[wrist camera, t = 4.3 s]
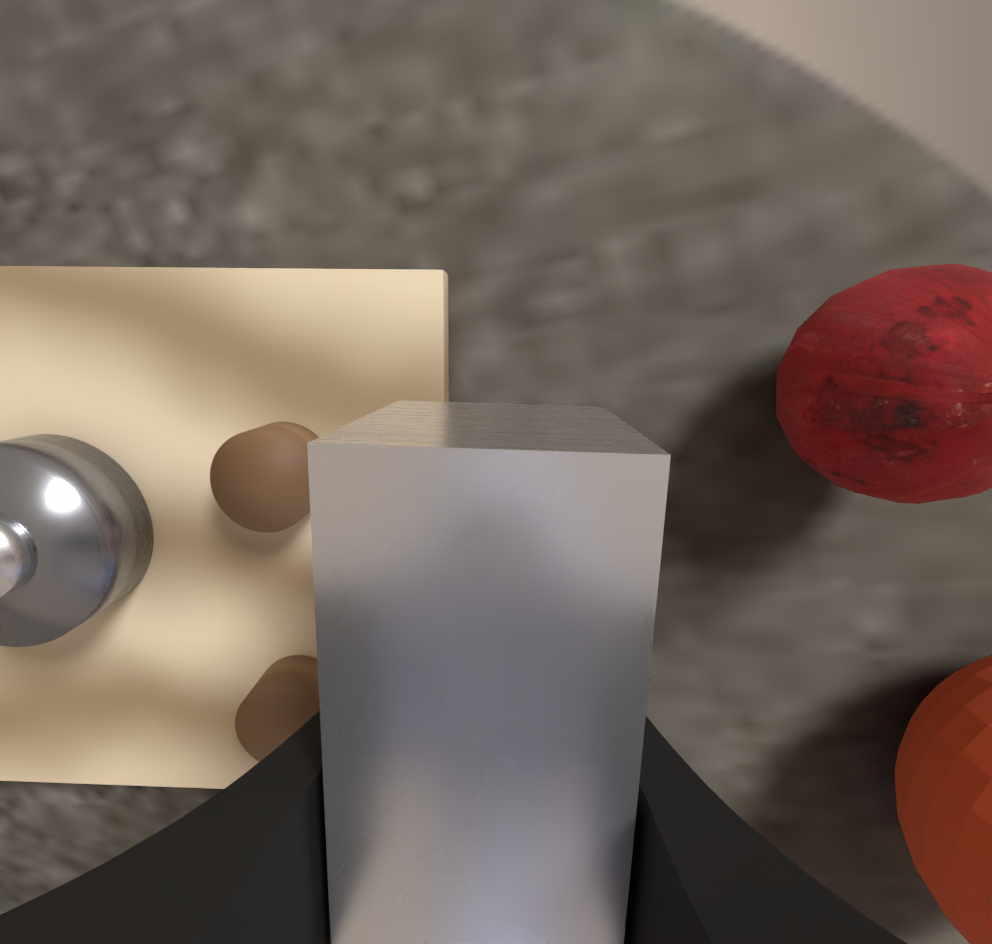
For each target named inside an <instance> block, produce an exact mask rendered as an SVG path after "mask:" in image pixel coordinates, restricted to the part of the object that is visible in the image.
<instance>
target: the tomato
mask: <svg viewBox="0 0 992 944" xmlns="http://www.w3.org/2000/svg"><path fill="white" fill-rule="evenodd" d="M895 787H896V802H897V816H898V819H899V822H900V825H901V828H902V831H903V834H904V837H905V840H906V843H907V846H908V848H909V851H910V854H911V857H912V860H913V863H914V865H915V868H916V869H917V871H918V872H919V874H920V876H921V877H922V879H923V880H924V882H925V884H926V885H927V887H928V889H929V890H930V892H931V893H932V895H933V897H934V898H935V900H936V901H937V903H938V904H939V906H940V907H941V909H942V911H943V912H944V914H945V915H946V917H947V918H948V920H949V921H950V922H951V923H952V924H953V925H954V927H955V928H956V929H957V930H958V931H959V932H960V933H961V934H962V935H963V937H964V938H965V939H966V940H967V941H968V942H969V943H970V944H992V655H991V656H988V657H985V658H982V659H980V660H977V661H975V662H973V663H971V664H969V665H967V666H965V667H963V668H961V669H959V670H957V671H955V672H954V673H953V674H951V675H950V676H949V677H947V678H946V679H945V680H943V681H942V682H941V683H939V684H938V685H937V686H936V687H935V688H934V689H933V690H932V691H931V692H930V693H929V694H928V695H927V696H926V697H925V698H924V700H923V701H922V702H921V703H920V705H919V706H918V708H917V710H916V711H915V713H914V714H913V716H912V717H911V719H910V721H909V724H908V726H907V729H906V731H905V734H904V736H903V739H902V741H901V744H900V746H899V749H898V754H897V760H896V766H895Z"/></svg>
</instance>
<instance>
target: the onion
mask: <svg viewBox="0 0 992 944" xmlns="http://www.w3.org/2000/svg"><path fill="white" fill-rule="evenodd" d="M776 416H777V418H778V420H779V422H780V424H781V426H782V428H783V431H784V433H785V435H786V437H787V439H788V441H789V443H790V445H791V447H792V449H793V451H794V452H795V453H796V454H797V455H798V456H799V457H800V458H801V459H802V460H803V461H804V462H806V463H807V464H809V465H810V466H811V467H813V468H814V469H815V470H817V471H818V472H819V473H821V474H822V475H824V476H825V477H826V478H828V479H829V480H830V481H832V482H833V483H835V484H836V485H837V486H840V487H842V488H845V489H848V490H850V491H853V492H856V493H860V494H864V495H868V496H872V497H876V498H881V499H885V500H889V501H893V502H897V503H915V504H919V503H926V502H932V501H939V500H946V499H953V498H960V497H966V496H969V495H973V494H977V493H981V492H983V491H985V490H987V489H989V488H992V273H991V272H988V271H985V270H981V269H978V268H974V267H970V266H965V265H961V264H944V265H930V266H921V267H911V268H902V269H893V270H889V271H886V272H884V273H882V274H879V275H877V276H875V277H872V278H870V279H868V280H866V281H863V282H861V283H859V284H857V285H855V286H852V287H850V288H848V289H846V290H844V291H841V292H839V293H837V294H835V295H833V296H831V297H830V298H829V299H828V300H827V301H826V302H825V303H824V304H823V305H822V306H821V307H819V308H818V309H817V310H816V311H815V312H814V313H813V314H812V315H811V316H810V317H809V318H808V319H807V320H806V321H805V322H804V323H803V324H802V325H801V326H800V327H799V328H798V329H797V331H796V333H795V335H794V337H793V339H792V341H791V343H790V345H789V347H788V349H787V351H786V353H785V355H784V357H783V359H782V361H781V363H780V365H779V367H778V369H777V388H776Z"/></svg>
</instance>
